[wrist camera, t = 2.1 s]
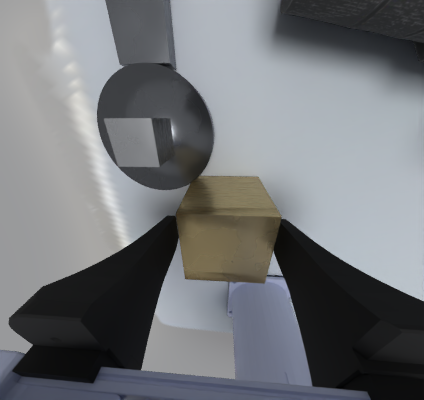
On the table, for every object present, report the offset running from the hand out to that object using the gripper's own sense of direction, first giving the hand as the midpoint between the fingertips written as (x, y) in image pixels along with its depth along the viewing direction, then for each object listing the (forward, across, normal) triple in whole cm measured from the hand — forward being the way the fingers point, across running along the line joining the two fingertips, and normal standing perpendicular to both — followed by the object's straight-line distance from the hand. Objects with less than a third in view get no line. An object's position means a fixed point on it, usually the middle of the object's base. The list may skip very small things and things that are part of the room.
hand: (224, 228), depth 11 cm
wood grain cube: (+4, 0, 0) cm, 4 cm away
